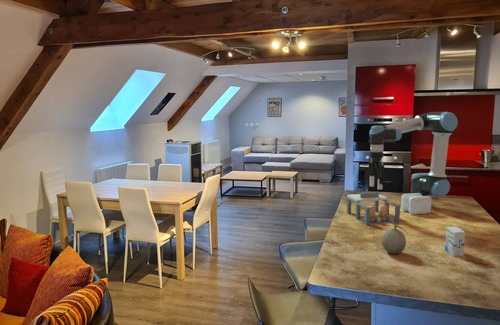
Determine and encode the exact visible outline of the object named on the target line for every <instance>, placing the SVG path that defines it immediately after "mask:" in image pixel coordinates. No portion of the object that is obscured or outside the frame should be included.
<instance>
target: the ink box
mask: <svg viewBox="0 0 500 325" xmlns="http://www.w3.org/2000/svg"><path fill="white" fill-rule="evenodd" d="M465 238H466V232H465V231H464V230H462V229H461V228H460V227H458V226H447V227H446V233H445V246H444V251H446V252H447V253H448V254H450V255H451V257H464V254H465V252H464V250H465Z"/></svg>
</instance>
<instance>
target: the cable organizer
mask: <svg viewBox="0 0 500 325" xmlns="http://www.w3.org/2000/svg"><path fill="white" fill-rule="evenodd" d="M431 203H432V197H431V196H430V195H429V196H422V194H420V193H412V194H411V193H404V194H402V195H401V204H400V210H402V211H404V212H408V213H409V214H411V215H413V216H415V215H419V214H421V215H425V214H429V213H431V211H432V207H431Z"/></svg>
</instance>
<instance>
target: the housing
mask: <svg viewBox="0 0 500 325" xmlns="http://www.w3.org/2000/svg"><path fill="white" fill-rule="evenodd" d="M379 201H380V200H376V201H373V203H374V204H373V206H375V213H379V208H380V205H379ZM381 201H382V202H384V205H387V206H388V212H387V219H388V220H390V221H391V222H393V223H394V224H400V222H401V221H400V220H401V219H400V218H401V215H400V214H401V204H398V203H395V202H394V201H392V200H391V201H390V200H389V199H388V200H381ZM352 203H354V204H355V219H356V220H357V221H359V222H360V223H362V224H364V225H366V226H372V225H373V226H374V225H375V226H376V225H384V224H385V225H387V224H388V225H389V224H392V223H391V222H390V221H388V220H387V221H381V217H379V216H378V215H377V214H375V222H370V207H368V206H369V205H366V204H364V203H362V201H360V202H356V201H355V200H353V199H351V198H349V197H347V196H346V214H348V215H351V214H352ZM391 205H392V206H393V207H394V219H393V217H392V216H391V215H390V206H391ZM361 208H363V209H364V216H362V217H361Z"/></svg>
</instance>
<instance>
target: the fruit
mask: <svg viewBox="0 0 500 325" xmlns="http://www.w3.org/2000/svg"><path fill="white" fill-rule="evenodd" d="M387 220H388V219H387ZM388 221H390V220H388ZM390 222H391V221H390ZM390 224H392V225H393V226H394V227H393V228H389V229H387V230H386V231H385V232H384V233H383V235H382V237H381V238H382V239H381V243H382V247H383V249H384V250H385V251H386V252H387V253H389V254H392V255H398V254H401V253H402V252H403V251H404V250H405V247H406V245H407V239H406V236H405V234H404V232H405V233H406V234H407V235H409V233H408V232H407V231H406V230H405V229H404V228H403V227H401V226H399V225H397V224H396V223H393V222H391V223H390ZM398 228H399V229H398ZM401 230H403V231H404V232H403V231H401Z"/></svg>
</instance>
